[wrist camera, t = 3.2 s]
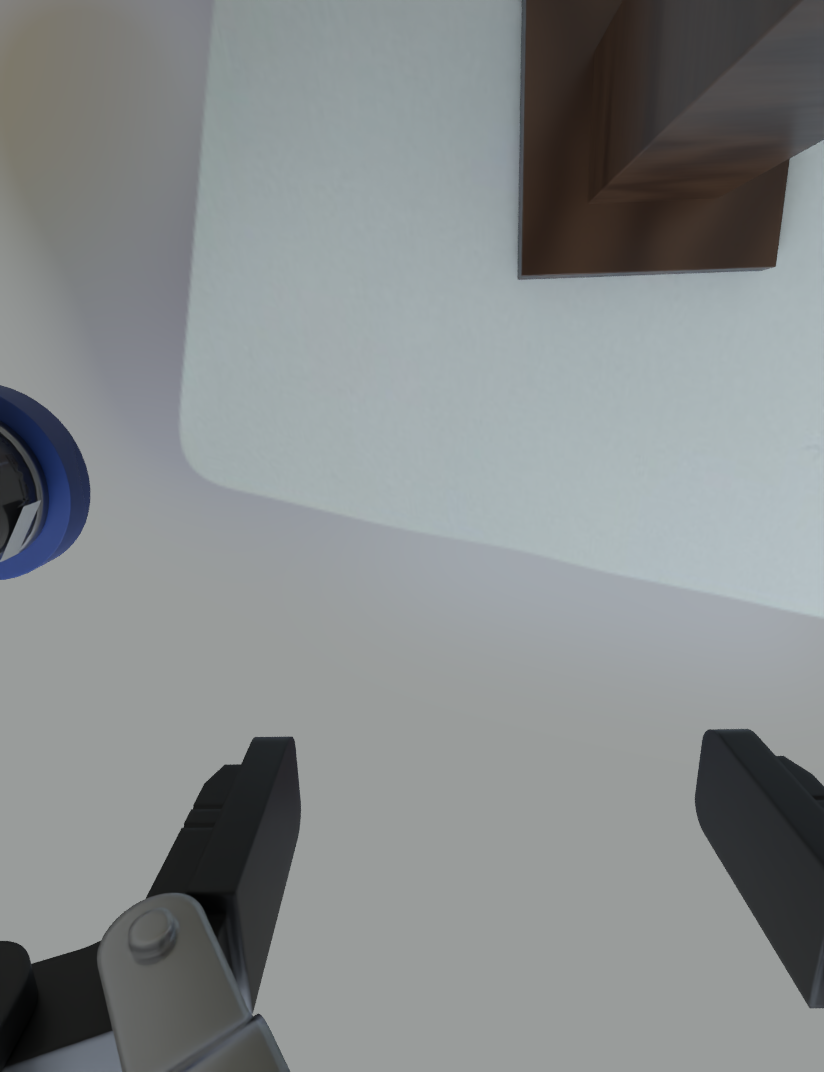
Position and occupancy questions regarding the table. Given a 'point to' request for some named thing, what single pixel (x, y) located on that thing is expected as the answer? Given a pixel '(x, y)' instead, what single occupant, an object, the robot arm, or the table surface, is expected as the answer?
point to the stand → (662, 132)
